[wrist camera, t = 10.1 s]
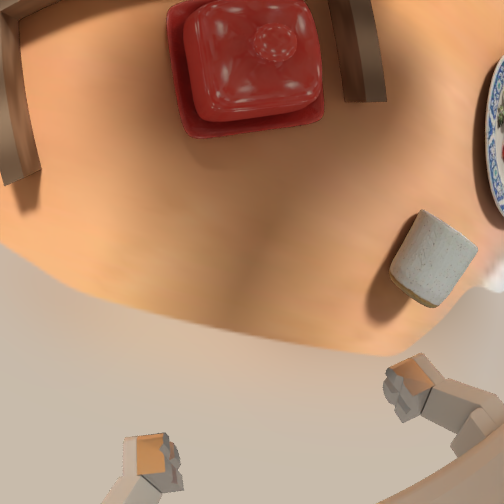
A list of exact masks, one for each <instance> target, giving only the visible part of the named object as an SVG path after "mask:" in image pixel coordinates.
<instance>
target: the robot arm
mask: <svg viewBox="0 0 504 504" xmlns="http://www.w3.org/2000/svg"><path fill="white" fill-rule="evenodd" d="M386 376H387V378H386V379H385V381H384V383H383V391H384V394H385V397H386V399H387V400H388V402H389V403H391V404H393V405H395V413H396V414H397V416H398V417H399V418H400V420H401V422H402V423H404V422H406V421H408V420H410V419H412V418H415V417H417V416H419V415H421V416H422V417H425V418H426V419H428V420H430V421H432V422H434V423H436V424H438V425H440V426H442V427H444V428H446V429H448V430H450V431H452V432H454V433H456V434H457V435H456V437H455V438H454V440H453V441H452V443H451V446H450V447H451V448H452V450H453V451H454V453H455V454H456V456H457V457H458V458H457V459H455V460H454V461H452V462H451V463H449V464H448V465H446V466H445V467H443V468H442V469H440V470H438V471H437V472H435V473H433V474H432V475H430V476H428V477H426V478H425V479H423V480H421V481H420V482H418V483H416V484H414V485H412V486H411V487H408V488H407V489H405V490H403V491H401V492H399V493H397V494H395V495H393V496H391V497H389V498H387V499H385V500H383V501H380V502H379V503H376V504H504V404H503V403H502V401H501V400H500V399H499V398H498V397H497V395H496V394H493V393H490V392H487V391H484V390H481V389H478V388H475V387H472V386H469V385H466V384H464V383H461V382H458V381H455V380H452V379H449V378H448V379H445V378H444V377H443V376H442V375H441V373H440V372H439V371H438V370H437V369H436V368H435V366H434V365H433V364H432V363H431V362H430V361H429V360H428V359H427V357H426V356H425V355H424V354H422V353H419V354H417V355H415V356H413V357H411V358H408V359H406V360H404V361H401V362H399V363H397V364H395V365H393V366H391V367H389V368H388V369H387V370H386ZM180 465H181V464H180V457H179V453H178V450H177V448H176V446H175V445H174V443H172V442H170V441H169V436H168V435H167V434H166V433H158V434H151V435H143V436H133V437H125V439H124V442H123V476H122V477H119V478H118V480H117V481H116V482H115V484H114V486H113V487H112V488H111V490H110V491H109V493H108V494H107V496H106V497H105V499H104V500H103V502H102V503H101V504H158V503H159V501H160V499H161V497H162V493H168V492H176V491H182V490H184V488H183V480H182V475H181V474H180V473H179V471H178V468H179V467H180Z"/></svg>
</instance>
